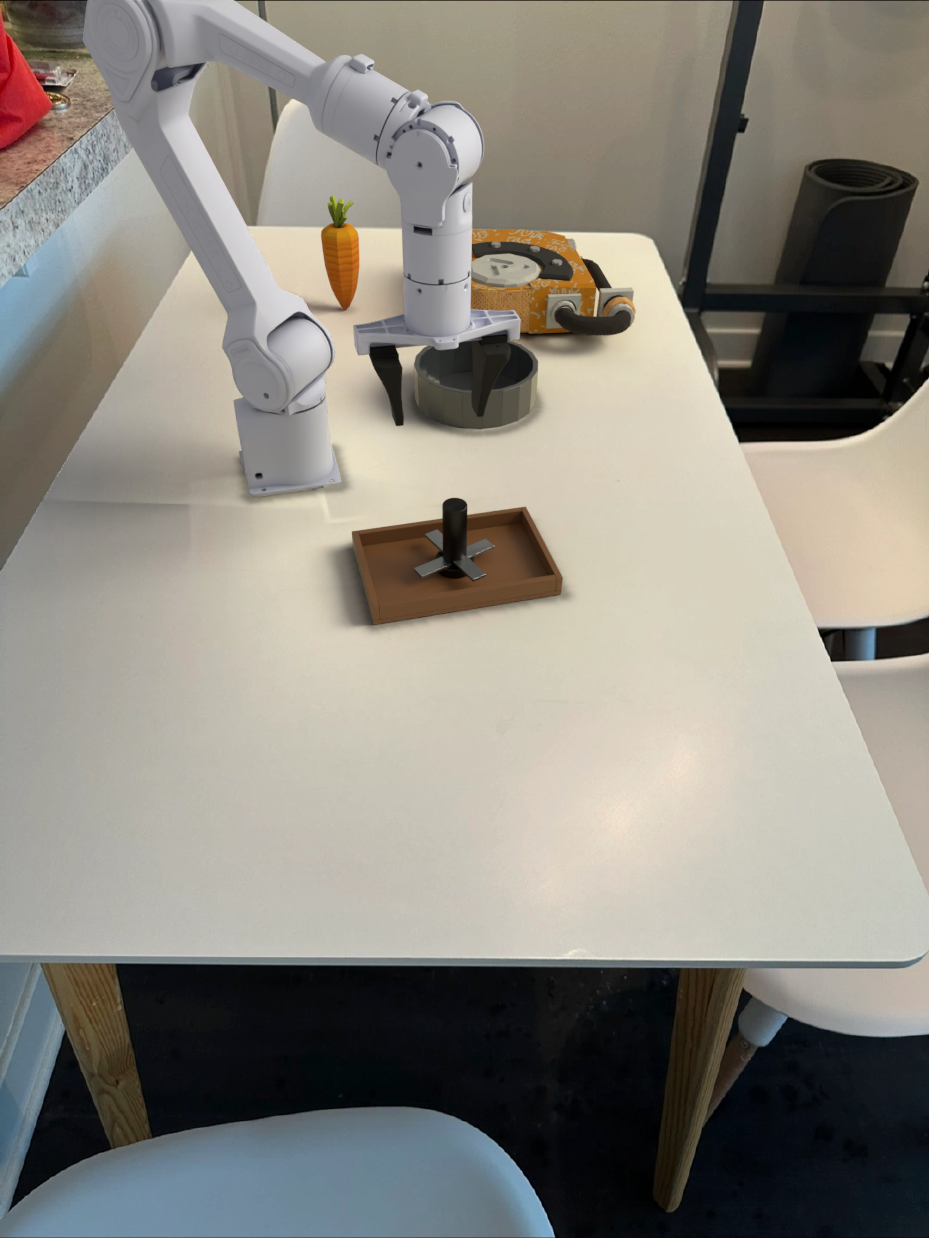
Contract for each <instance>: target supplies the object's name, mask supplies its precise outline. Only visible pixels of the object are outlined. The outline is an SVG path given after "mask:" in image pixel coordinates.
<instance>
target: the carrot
mask: <svg viewBox="0 0 929 1238" xmlns="http://www.w3.org/2000/svg"><path fill="white" fill-rule="evenodd" d="M353 205H354V201H352V200H350V201H348V202H347V203H346V204H345V199H343V198H338V201H337V197H336V195H331V196H330V197H329V202H327V209H328V212H329V215H330V218H331V219H332V222H331V223H329V224H328V225H326V226H324V227H323V228H322V229H321V232H320V239H321V247H322V248H321V249H322V255H323V262H324V268H325V272H326V275H327V279H328V282H329V286H330V289H331V290H332V293H333V295H334V298H335V299H336V300H337V302H338V304H339V305H340V307H341V308H342V309H343V310H344V311H347V310H348V309H349V308H350V307H351V304H352V302H353V300H354V299H355V294H356V292H357V288H358V281H359V272H360V237H359V233H358V231H357V230H356V229H357V228H355V227H354V226H353V225H352V224H351V223H347V222H346V221H347V219H348V218H349V216H348V215H346V214H347V212H348V210H349V209H350V208H351V207H352V206H353Z"/></svg>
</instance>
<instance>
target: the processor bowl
mask: <svg viewBox="0 0 929 1238" xmlns="http://www.w3.org/2000/svg"><path fill="white" fill-rule="evenodd" d="M507 343H508V345H509V346H510V348H511V351H510V358H509V361H508V362H507V363H506V365H505V366H504V368H503V369H502V371H501V372H500V374H499V376H498V377H497V379H496V381H495V383H494V386H493V388H492V390H491V393H490V396H489V399H488V402H487V405H486V409H485V413H484V416H482V417H477V416H476V414H475V412H474V410H473V408H472V399H471V393H472V379H473V358H472V342H471V341H465V342H460V343H459V347H457V348H455V349H447V350H437V349H435V348H434V346H426V345H425V346H424V347H423V348H422V349H421V350H420V351H419V352H418V353H417V354H416V355H415V358H414V363H413V381H414V383H413V385H414V400H415V404H416V405H417V408H418V409H419V410H420V411H421V412H422V413H423V415H425V416H427V417H428V418H429V419H431V420H434V421H435V422H438V423H440V424H443V425H446V426H450V427H455V428H460V429H473V430H477V429H478V430H485V429H494V428H499V427H505V426H508V425H511V424H513V423H517V422H518V421H520V420H522V419H524V418H526V417H527V416H528V415H529V414H530V413H531V412H532V411H533V409H534V408H535V406H536V404H537V390H538V376H539V361H538V359H537V357H536V355H535V354H534V353H533V352H532V350H530V349H528V348H527V347H526V346H524V345H523V344H521V343H519V342H515V341H514V340H508V339H507Z"/></svg>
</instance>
